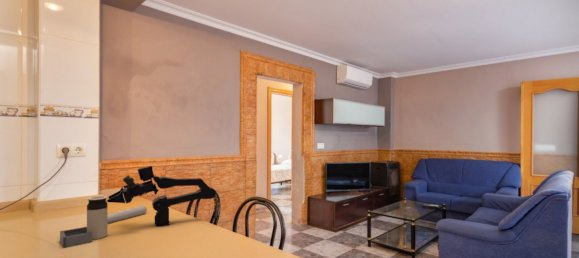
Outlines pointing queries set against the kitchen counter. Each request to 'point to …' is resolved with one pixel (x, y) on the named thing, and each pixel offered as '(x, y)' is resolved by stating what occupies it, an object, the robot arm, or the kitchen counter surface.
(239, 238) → the kitchen counter surface
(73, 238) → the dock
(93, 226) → the travel mug
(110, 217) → the tube
